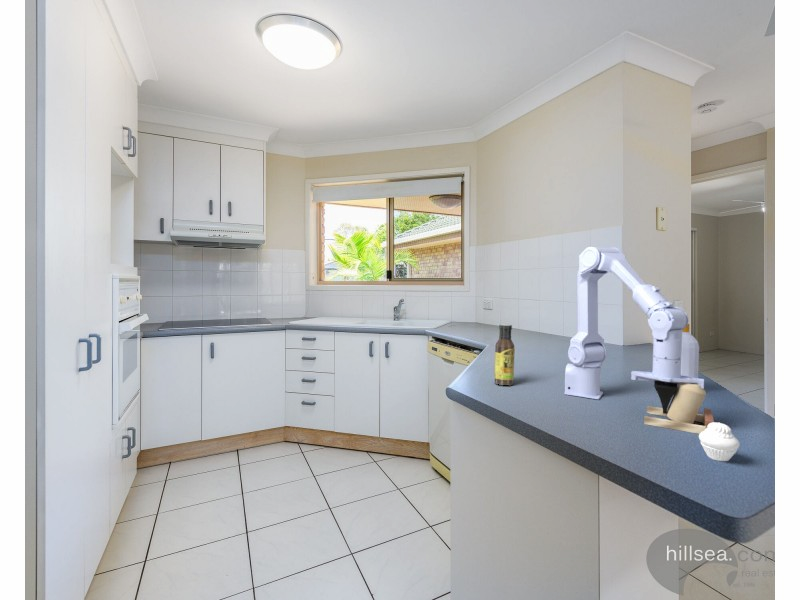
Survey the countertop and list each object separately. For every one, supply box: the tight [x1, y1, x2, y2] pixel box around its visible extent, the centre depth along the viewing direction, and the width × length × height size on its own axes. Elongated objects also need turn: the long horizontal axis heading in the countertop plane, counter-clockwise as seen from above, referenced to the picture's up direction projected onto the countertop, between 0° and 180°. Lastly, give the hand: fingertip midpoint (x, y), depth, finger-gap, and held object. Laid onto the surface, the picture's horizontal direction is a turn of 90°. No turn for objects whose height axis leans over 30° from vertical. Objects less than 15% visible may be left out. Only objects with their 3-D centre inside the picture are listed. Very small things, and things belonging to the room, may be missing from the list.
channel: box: [643, 405, 715, 435], centre depth 94 cm, size 13×11×3 cm
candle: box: [665, 382, 707, 424], centre depth 93 cm, size 6×6×10 cm
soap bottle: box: [677, 323, 700, 386], centre depth 122 cm, size 9×9×24 cm
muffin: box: [698, 421, 740, 462], centre depth 76 cm, size 6×6×7 cm
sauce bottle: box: [493, 323, 515, 386], centre depth 130 cm, size 6×6×20 cm
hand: (665, 412), depth 96 cm, fingers closed, pressing on candle
